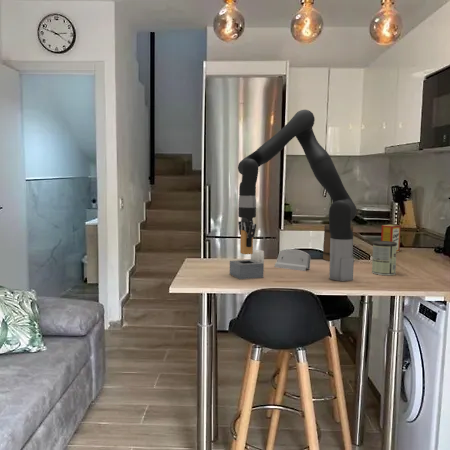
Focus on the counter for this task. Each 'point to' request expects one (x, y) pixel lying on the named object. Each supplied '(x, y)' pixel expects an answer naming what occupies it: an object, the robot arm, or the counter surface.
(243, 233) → the square bit
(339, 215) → the robot arm
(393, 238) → the baking soda box
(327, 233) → the wooden container
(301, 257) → the grey curved-top upright plate
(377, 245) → the coffee can
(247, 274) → the block
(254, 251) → the round bit
